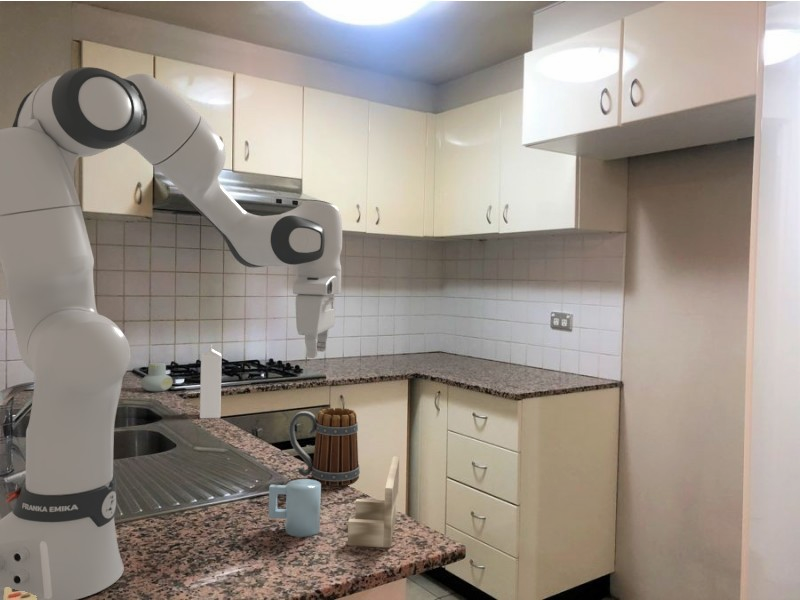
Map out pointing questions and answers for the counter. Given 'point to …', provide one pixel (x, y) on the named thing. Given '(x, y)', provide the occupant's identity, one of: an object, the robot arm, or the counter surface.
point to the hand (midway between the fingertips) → (316, 354)
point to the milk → (210, 384)
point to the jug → (298, 506)
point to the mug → (330, 447)
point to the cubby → (376, 515)
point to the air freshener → (156, 378)
